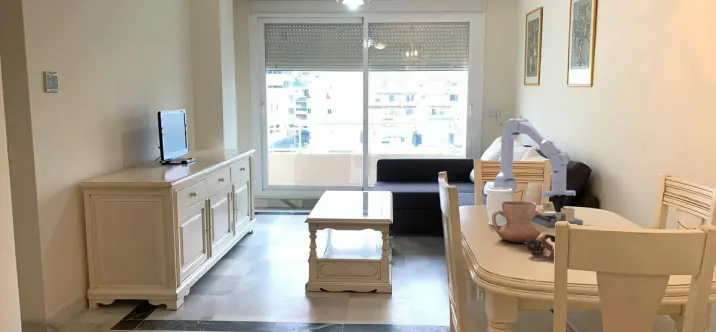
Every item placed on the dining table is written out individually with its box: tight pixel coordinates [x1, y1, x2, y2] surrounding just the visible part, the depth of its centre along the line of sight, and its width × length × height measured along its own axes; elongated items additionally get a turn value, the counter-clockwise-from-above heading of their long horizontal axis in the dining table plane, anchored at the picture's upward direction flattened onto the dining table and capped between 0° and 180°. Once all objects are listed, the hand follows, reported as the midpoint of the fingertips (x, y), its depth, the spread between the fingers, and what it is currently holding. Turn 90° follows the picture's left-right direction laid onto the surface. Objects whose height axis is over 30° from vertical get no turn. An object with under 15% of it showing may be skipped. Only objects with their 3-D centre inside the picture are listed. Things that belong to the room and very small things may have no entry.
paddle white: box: [542, 211, 561, 218], centre depth 246 cm, size 7×3×2 cm, turn 101°
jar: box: [486, 186, 512, 227], centre depth 241 cm, size 11×10×15 cm
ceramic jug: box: [492, 200, 543, 244], centre depth 212 cm, size 18×14×14 cm
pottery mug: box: [525, 233, 556, 261], centre depth 191 cm, size 12×10×8 cm
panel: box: [531, 201, 584, 228], centre depth 246 cm, size 16×18×7 cm
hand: (558, 212), depth 246 cm, fingers closed, pressing on paddle white
